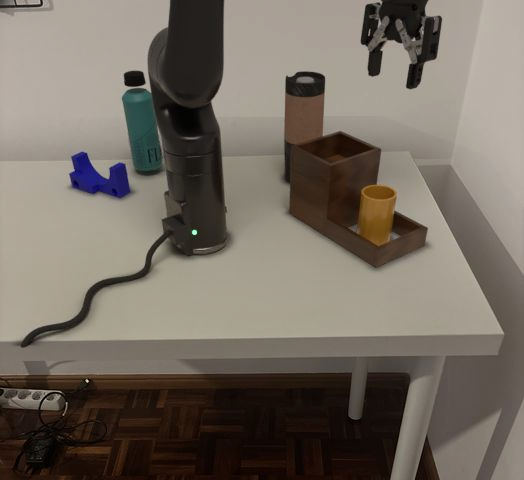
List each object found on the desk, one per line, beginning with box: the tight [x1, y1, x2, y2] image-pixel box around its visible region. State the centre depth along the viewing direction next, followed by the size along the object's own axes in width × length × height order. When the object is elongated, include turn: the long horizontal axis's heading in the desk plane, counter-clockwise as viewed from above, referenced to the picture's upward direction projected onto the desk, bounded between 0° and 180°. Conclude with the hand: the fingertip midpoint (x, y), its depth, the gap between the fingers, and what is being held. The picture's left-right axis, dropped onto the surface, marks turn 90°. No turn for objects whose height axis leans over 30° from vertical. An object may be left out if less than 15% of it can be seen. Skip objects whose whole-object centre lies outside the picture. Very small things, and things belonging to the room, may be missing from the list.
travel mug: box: [283, 70, 326, 185], centre depth 111 cm, size 8×8×20 cm
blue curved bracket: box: [68, 151, 131, 199], centre depth 113 cm, size 12×4×6 cm, turn 58°
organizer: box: [289, 130, 429, 269], centre depth 98 cm, size 12×23×13 cm, turn 36°
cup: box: [356, 184, 398, 246], centre depth 96 cm, size 6×6×9 cm
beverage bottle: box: [121, 70, 164, 172], centre depth 115 cm, size 6×7×20 cm
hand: (392, 81), depth 93 cm, fingers open, 8 cm apart
